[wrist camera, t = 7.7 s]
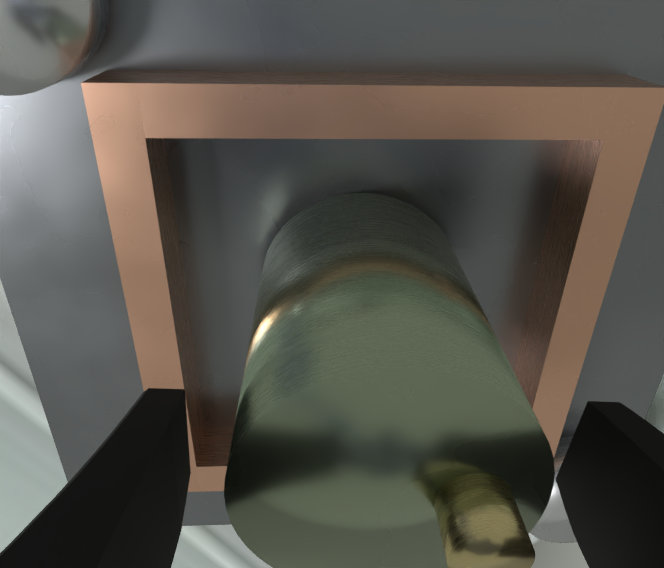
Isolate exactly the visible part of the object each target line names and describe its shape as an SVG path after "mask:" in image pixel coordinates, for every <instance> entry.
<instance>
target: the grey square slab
mask: <svg viewBox="0 0 664 568" xmlns="http://www.w3.org/2000/svg"><path fill="white" fill-rule="evenodd" d="M350 193H375V194H383V195H387V196H391V197H395V198H398V199H400V200H403V201H405V202H408V203H410V204H412V205H413V206H415V207H417V208H419V209H420V210H422V211H423V212H424V213H426V214H427V215H428V216H430V217H431V218H432V219H433V220H434V222H435V223H436V224H437V225H438V226H439V227H440V228H441V230H442V231H443V233H444V234H445V235H446V237H447V239H448V241H449V243H450V245H451V247H452V249H453V251H454V253H455V255H456V257H457V259H458V261H459V263H460V265H461V267H462V269H463V271H464V273H465V275H466V277H467V279H468V281H469V283H470V285H471V287H472V289H473V291H474V293H475V295H476V297H477V299H478V301H479V303H480V305H481V307H482V309H483V311H484V313H485V315H486V317H487V319H488V321H489V323H490V325H491V327H492V329H493V331H494V333H495V335H496V337H497V339H498V341H499V343H500V345H501V347H502V349H503V351H504V353H505V355H506V357H507V359H508V361H509V363H510V365H511V367H512V369H513V371H514V373H515V375H516V377H517V379H518V381H519V383H520V385H521V387H522V389H523V391H524V393H525V395H526V397H527V399H528V401H529V403H530V405H531V407H532V409H533V411H534V413H535V415H536V417H537V419H538V421H539V423H540V425H541V427H542V429H543V431H544V433H545V435H546V437H547V439H548V441H549V444H550V447H551V450H552V454H553V457H554V468H555V476H554V485H553V490H552V493H551V497H550V500H549V503H548V505H547V507H546V509H545V511H544V513H543V515H542V516H541V518H540V519H539V521H538V522H537V524H536V525H535V526H534V528H533V529H532V530H531V531H530V533H531V534H532V535H534V536H535V537H537V538H539V539H542V540H545V541H550V542H556V543H573V542H577V540H576V538H575V536H574V534H573V531H572V528H571V525H570V522H569V519H568V516H567V514H566V511H565V508H564V505H563V501H562V498H561V495H560V492H559V488H558V485H557V482H556V477H557V474H558V472H559V469H560V467H561V465H562V462H563V460H564V457H565V455H566V452H567V450H568V448H569V445H570V443H571V440H572V438H573V436H574V433H575V431H576V428H577V426H578V423H579V421H580V419H581V416H582V414H583V411H584V409H585V407H586V404H587V402H588V401H599V402H620V403H622V404H623V405H625V406H626V407H628V408H629V409H631V410H632V411H634V412H635V413H636V414H638V415H639V416H640V417H642V418H643V419H645V417H646V415H647V413H648V410H649V408H650V405H651V403H652V400H653V398H654V395H655V393H656V390H657V388H658V386H659V383H660V381H661V378H662V376H663V373H664V0H0V278H1V281H2V284H3V287H4V290H5V294H6V297H7V300H8V303H9V306H10V309H11V312H12V315H13V318H14V321H15V324H16V327H17V330H18V333H19V336H20V339H21V342H22V345H23V348H24V351H25V354H26V357H27V360H28V363H29V366H30V369H31V372H32V375H33V378H34V381H35V384H36V387H37V390H38V393H39V396H40V399H41V402H42V405H43V408H44V411H45V414H46V417H47V420H48V423H49V427H50V430H51V433H52V436H53V439H54V442H55V445H56V448H57V451H58V454H59V457H60V460H61V463H62V466H63V469H64V472H65V475H66V478H67V481H68V482H69V481H70V480H71V479H72V478H73V477H74V475H75V474H76V473H77V472H78V471H79V470H80V469H81V467H82V466H83V465H84V464H85V463H86V462H87V461H88V459H89V458H90V457H91V456H92V455H93V454H94V453H95V451H96V450H97V449H98V448H99V447H100V446H101V444H102V443H103V442H104V441H105V439H106V438H107V437H108V436H109V435H110V433H111V432H112V431H113V430H114V429H115V427H116V426H117V425H118V424H119V422H120V421H121V420H122V419H123V417H124V416H125V415H126V414H127V412H128V411H129V410H130V408H131V407H132V406H133V405H134V403H135V402H136V401H137V399H138V398H139V397H140V396H141V394H142V393H143V392H144V391H146V390H147V389H148V388H163V389H185V399H186V413H187V427H188V441H189V455H190V470H191V474H190V480H189V486H188V492H187V499H186V505H185V510H184V516H183V522H182V526H191V525H226V524H231V522H230V519H229V516H228V513H227V510H226V505H225V498H224V484H225V475H226V469H227V464H228V458H229V453H230V447H231V441H232V436H233V430H234V425H235V419H236V413H237V408H238V402H239V397H240V391H241V385H242V380H243V374H244V369H245V363H246V357H247V352H248V346H249V340H250V335H251V329H252V324H253V318H254V312H255V307H256V301H257V296H258V290H259V284H260V279H261V273H262V268H263V264H264V260H265V257H266V254H267V251H268V249H269V247H270V245H271V243H272V242H273V240H274V238H275V236H276V235H277V234H278V233H279V231H280V230H281V229H282V227H283V226H284V225H285V224H286V223H287V222H289V221H290V220H291V219H292V218H293V217H294V216H295V215H297V214H298V213H300V212H301V211H302V210H304V209H306V208H307V207H309V206H311V205H313V204H315V203H317V202H319V201H322V200H325V199H327V198H330V197H334V196H338V195H343V194H350Z"/></svg>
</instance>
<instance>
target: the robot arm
mask: <svg viewBox="0 0 664 568" xmlns="http://www.w3.org/2000/svg"><path fill="white" fill-rule="evenodd" d="M190 474H191V470H190V455H189V441H188V427H187V413H186V399H185V389H163V388H148V389H147V390H146V391H144V392H143V393H142V394H141V396H140V397H139V398H138V399H137V401H136V402H135V403H134V405H133V406H132V407H131V408H130V410H129V411H128V412H127V414H126V415H125V416H124V417H123V419H122V420H121V421H120V422H119V424H118V425H117V426H116V427H115V429H114V430H113V431H112V432H111V433H110V435H109V436H108V437H107V438H106V439H105V441H104V442H103V443H102V444H101V446H100V447H99V448H98V449H97V450H96V451H95V453H94V454H93V455H92V456H91V457H90V458H89V459H88V461H87V462H86V463H85V464H84V465H83V466H82V467H81V469H80V470H79V471H78V472H77V473H76V474H75V475H74V477H73V478H72V479H71V480H70V481H69V482H68V483H67V484H66V486H65V487H64V488H63V489H62V490H61V491H60V492H59V493H58V494H57V495H56V497H55V498H54V499H53V500H52V501H51V502H50V503H49V504H48V505H47V506H46V507H45V508H44V509H43V510H42V511H41V512H40V513H39V514H38V515H37V516H36V517H35V518H34V519H33V520H32V521H31V522H30V524H29V525H28V526H27V527H26V528H25V529H24V530H23V531H22V532H21V533H20V534H19V535H18V536H17V537H16V538H15V539H14V540H13V541H12V542H11V543H10V544H9V545H8V546H7V547H6V548H5V549H4V550H3V551H2V552H1V553H0V568H171V565H172V562H173V558H174V554H175V551H176V547H177V543H178V540H179V536H180V532H181V528H182V522H183V516H184V510H185V505H186V499H187V492H188V486H189V480H190ZM556 482H557V485H558V488H559V492H560V495H561V498H562V501H563V505H564V508H565V511H566V514H567V516H568V519H569V522H570V525H571V528H572V531H573V534H574V536H575V538H576V540H577V542H578V545H579V547H580V549H581V551H582V553H583V555H584V558H585V560H586V562H587V564H588V566H589V568H664V434H663V433H662V432H661V431H659V430H658V429H657V428H655V427H654V426H653V425H651V424H650V423H649V422H647V421H646V420H645V419H643V418H642V417H640V416H639V415H638V414H636V413H635V412H634V411H632V410H631V409H629V408H628V407H626V406H625V405H623V404H622V403H620V402H599V401H588V402H587V404H586V407H585V409H584V411H583V414H582V416H581V419H580V421H579V423H578V426H577V428H576V431H575V433H574V436H573V438H572V440H571V443H570V445H569V448H568V450H567V452H566V455H565V457H564V460H563V462H562V465H561V467H560V469H559V472H558V474H557V477H556Z"/></svg>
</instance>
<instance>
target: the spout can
mask: <svg viewBox="0 0 664 568" xmlns="http://www.w3.org/2000/svg"><path fill="white" fill-rule="evenodd" d="M554 476H555V468H554V457H553V454H552V450H551V447H550V444H549V441H548V439H547V437H546V435H545V433H544V431H543V429H542V427H541V425H540V423H539V421H538V419H537V417H536V415H535V413H534V411H533V409H532V407H531V405H530V403H529V401H528V399H527V397H526V395H525V393H524V391H523V389H522V387H521V385H520V383H519V381H518V379H517V377H516V375H515V373H514V371H513V369H512V367H511V365H510V363H509V361H508V359H507V357H506V355H505V353H504V351H503V349H502V347H501V345H500V343H499V341H498V339H497V337H496V335H495V333H494V331H493V329H492V327H491V325H490V323H489V321H488V319H487V317H486V315H485V313H484V311H483V309H482V307H481V305H480V303H479V301H478V299H477V297H476V295H475V293H474V291H473V289H472V287H471V285H470V283H469V281H468V279H467V277H466V275H465V273H464V271H463V269H462V267H461V265H460V263H459V261H458V259H457V257H456V255H455V253H454V251H453V249H452V247H451V245H450V243H449V241H448V239H447V237H446V235H445V234H444V233H443V231H442V230H441V228H440V227H439V226H438V225H437V224H436V223H435V222H434V220H433V219H432V218H431V217H430V216H428V215H427V214H426V213H424V212H423V211H422V210H420V209H419V208H417V207H415V206H413V205H412V204H410V203H408V202H405V201H403V200H400V199H398V198H395V197H391V196H387V195H383V194H375V193H350V194H343V195H338V196H334V197H330V198H327V199H325V200H322V201H319V202H317V203H315V204H313V205H311V206H309V207H307V208H306V209H304V210H302V211H301V212H300V213H298V214H297V215H295V216H294V217H293V218H292V219H291V220H290V221H289V222H287V223H286V224H285V225H284V226H283V227H282V229H281V230H280V231H279V233H278V234H277V235H276V236H275V238H274V240H273V242H272V243H271V245H270V247H269V249H268V251H267V254H266V257H265V260H264V264H263V268H262V273H261V279H260V284H259V290H258V296H257V301H256V307H255V312H254V318H253V324H252V329H251V335H250V340H249V346H248V352H247V357H246V363H245V369H244V374H243V380H242V385H241V391H240V397H239V402H238V408H237V413H236V419H235V425H234V430H233V436H232V441H231V447H230V453H229V458H228V464H227V469H226V475H225V484H224V498H225V505H226V510H227V513H228V516H229V519H230V522H231V524H232V526H233V527H234V529H235V531H236V533H237V535H238V536H239V537H240V539H241V540H242V541H243V542H244V544H245V545H246V546H247V547H248V548H249V549H250V550H251V551H252V552H253V553H254V554H255V555H256V556H257V557H259V558H260V559H261V560H263V561H264V562H265V563H267V564H268V565H270V566H271V567H273V568H530V567H531V566H532V564H533V563H534V559H535V551H534V548H533V546H532V543H531V540H530V538H529V535H528V533H529V532H530V531H531V530H532V529H533V528H534V526H535V525H536V524H537V522H538V521H539V519H540V518H541V516H542V515H543V513H544V511H545V509H546V507H547V505H548V503H549V500H550V497H551V493H552V490H553V485H554Z"/></svg>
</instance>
